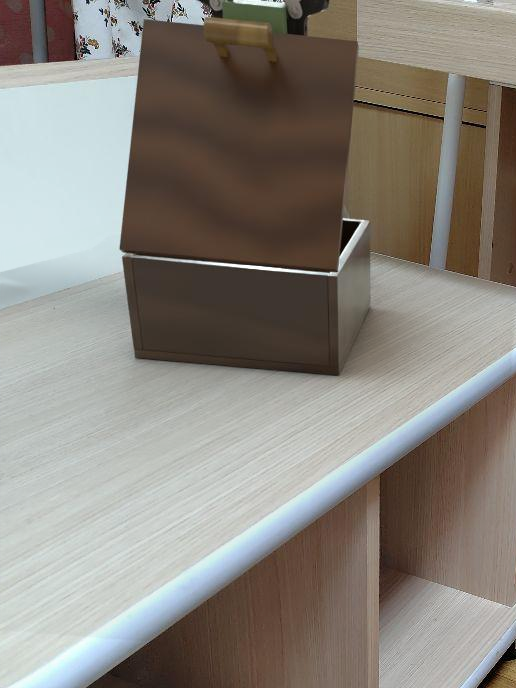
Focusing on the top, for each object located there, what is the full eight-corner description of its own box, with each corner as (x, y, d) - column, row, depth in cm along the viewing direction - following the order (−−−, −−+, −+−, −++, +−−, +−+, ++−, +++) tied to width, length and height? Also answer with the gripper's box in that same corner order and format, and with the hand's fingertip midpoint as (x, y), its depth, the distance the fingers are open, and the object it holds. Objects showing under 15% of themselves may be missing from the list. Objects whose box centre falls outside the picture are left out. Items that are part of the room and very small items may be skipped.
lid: (146, 24, 82) (124, -13, 77) (358, 46, 83) (350, 11, 78) (122, 252, 81) (98, 230, 76) (338, 272, 82) (328, 251, 77)
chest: (198, 291, 101) (190, 203, 97) (370, 307, 102) (370, 220, 97) (134, 357, 85) (121, 256, 81) (338, 375, 86) (337, 276, 82)
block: (226, 67, 84) (221, 1, 82) (241, 61, 88) (237, -3, 86) (285, 73, 84) (282, 7, 82) (297, 66, 89) (295, 4, 86)
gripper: (350, -161, 81) (351, 66, 90) (173, -182, 80) (192, 50, 89) (333, -169, 74) (337, 77, 83) (141, -191, 74) (165, 59, 83)
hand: (262, 62), depth 86 cm, fingers closed on block, 5 cm apart
